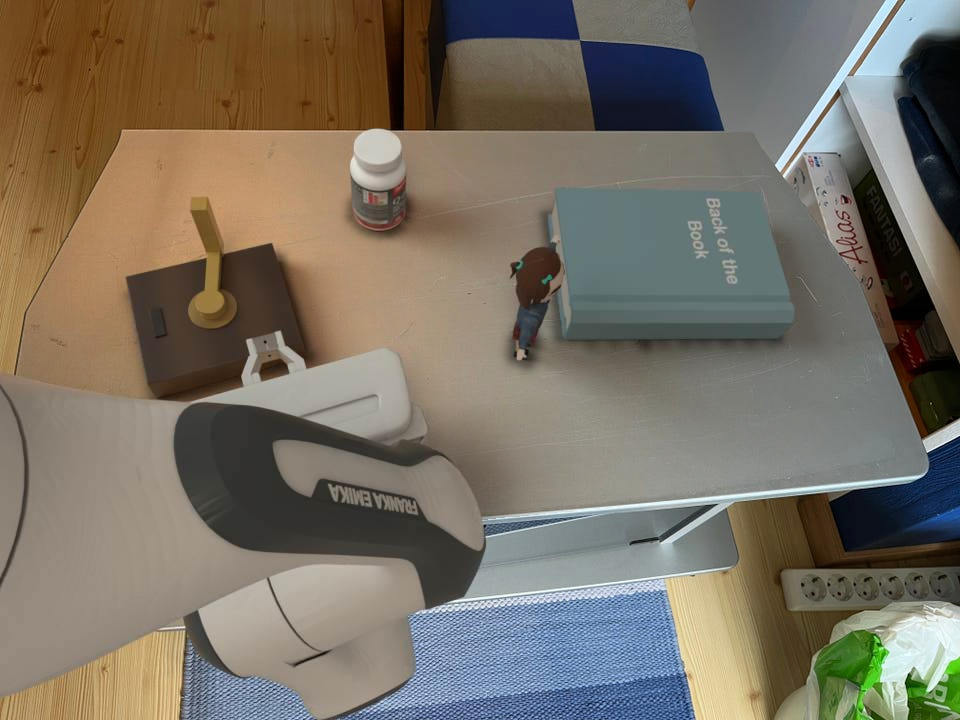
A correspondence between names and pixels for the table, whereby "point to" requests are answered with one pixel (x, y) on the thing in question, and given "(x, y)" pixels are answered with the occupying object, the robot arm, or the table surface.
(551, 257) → the toy
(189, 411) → the robot arm
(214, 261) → the tan lever handle
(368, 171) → the pill bottle
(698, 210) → the book
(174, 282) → the lock plate
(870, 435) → the table surface
